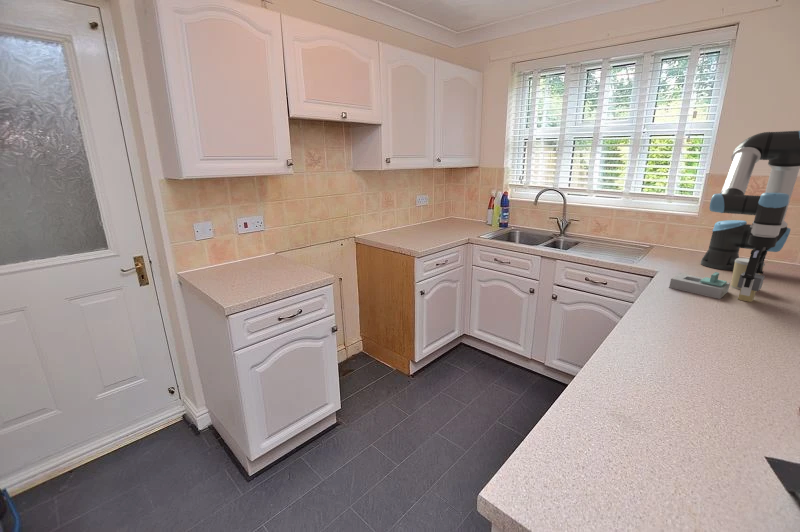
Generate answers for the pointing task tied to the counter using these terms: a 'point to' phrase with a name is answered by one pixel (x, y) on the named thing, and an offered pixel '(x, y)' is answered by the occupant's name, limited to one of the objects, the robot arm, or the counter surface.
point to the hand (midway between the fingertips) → (747, 291)
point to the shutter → (713, 280)
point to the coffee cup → (739, 270)
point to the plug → (756, 287)
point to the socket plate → (697, 286)
